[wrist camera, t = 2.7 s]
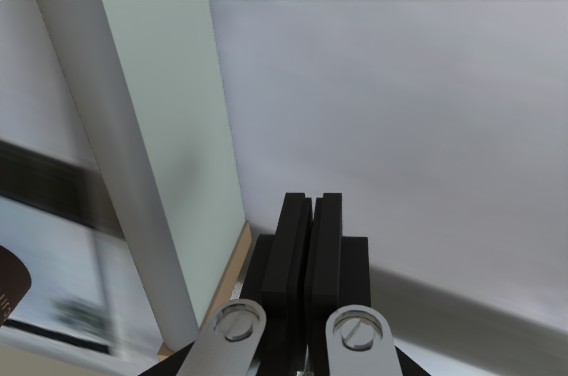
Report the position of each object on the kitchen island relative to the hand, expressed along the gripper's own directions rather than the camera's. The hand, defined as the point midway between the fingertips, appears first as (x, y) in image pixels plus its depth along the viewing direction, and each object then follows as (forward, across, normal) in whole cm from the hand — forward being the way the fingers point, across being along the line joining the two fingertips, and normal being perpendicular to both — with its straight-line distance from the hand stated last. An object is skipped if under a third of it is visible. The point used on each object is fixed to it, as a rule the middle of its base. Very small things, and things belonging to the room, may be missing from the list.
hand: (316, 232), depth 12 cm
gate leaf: (+10, +6, -1) cm, 12 cm away
